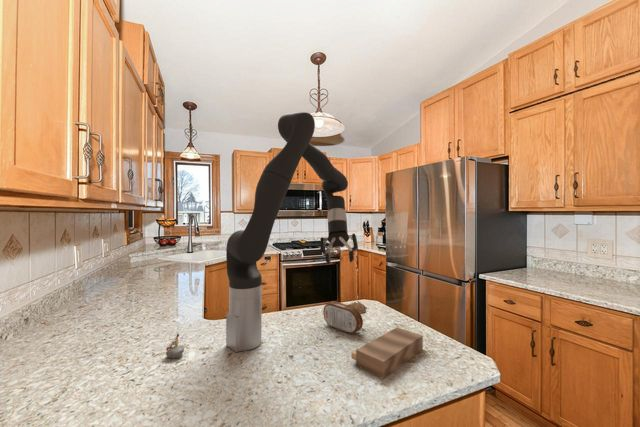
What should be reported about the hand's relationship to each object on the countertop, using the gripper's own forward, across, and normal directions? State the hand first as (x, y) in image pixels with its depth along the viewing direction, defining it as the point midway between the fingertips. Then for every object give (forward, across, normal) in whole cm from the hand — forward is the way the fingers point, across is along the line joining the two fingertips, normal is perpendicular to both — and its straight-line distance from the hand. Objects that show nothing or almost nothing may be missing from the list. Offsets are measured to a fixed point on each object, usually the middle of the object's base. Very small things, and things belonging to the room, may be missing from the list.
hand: (339, 263), depth 104 cm
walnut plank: (+29, +16, -17) cm, 38 cm away
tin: (+23, 0, -5) cm, 23 cm away
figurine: (+27, -39, -34) cm, 58 cm away
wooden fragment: (+18, 0, +13) cm, 22 cm away
